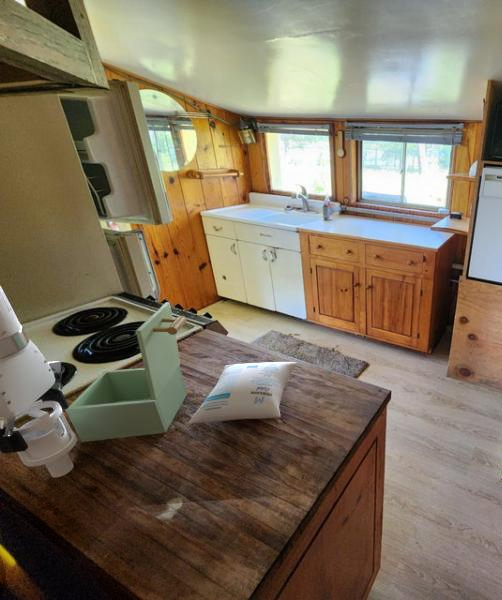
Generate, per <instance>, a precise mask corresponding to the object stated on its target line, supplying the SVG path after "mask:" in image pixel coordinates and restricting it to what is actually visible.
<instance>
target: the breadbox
mask: <svg viewBox="0 0 502 600" xmlns="http://www.w3.org/2000/svg"><path fill="white" fill-rule="evenodd" d="M187 396H188V391H187V387H186V384H185V381H184V377H183V374H182V370H181V366H179V367H178V368H177V370H176V371H175V373H174V374H173V376H172V377H171V378H170V380H169V381H168V383H167V384H166V386H165V387H164V389H163V390H162V392H161V393H160V395H159V396H158V398H157V399H156V400H152V399H151V395H150V390H149V386H148V381H147V377H146V373H145V368H144V367H139V368H127V369H125V368H124V369H115V370H104V371H103V372H102V373H101V374H99V375H98V377H97V378H95V380H94V381H93V382H92V383H91V384H90V385H89V386H88V387H87V388H86V389H84V391H83V392H82V393H81V394H80V395H79V396H78V397H77V398H76V399H75V400H74V401H73V402H72V403H70V404H69V407H68V408H67V409H65V412H66V414H67V416H68V418H69V420H70V422H71V424H72V426H73V428H74V430H75V431H76V434H77V436H78V438H79V439H80V441H81V443H86V442H95V441H96V442H97V441H105V440H113V439H122V438H129V437H131V438H132V437H140V436H141V437H142V436H150V435H157V434H166V433H167V431H168V429H169V427H170V426H171V424H172V423H173V421H174V419H175V417H176V415H177V413H178V411H179V410H180V408H181V406H182V405H183V403H184V401H185V399H186V397H187Z"/></svg>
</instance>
